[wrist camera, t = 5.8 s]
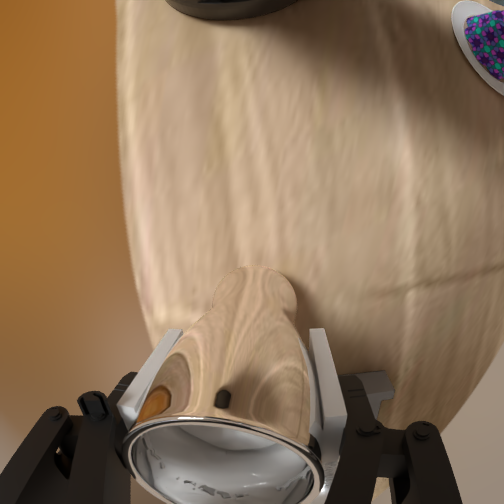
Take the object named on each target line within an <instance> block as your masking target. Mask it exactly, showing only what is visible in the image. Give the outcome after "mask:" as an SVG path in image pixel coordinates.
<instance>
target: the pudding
mask: <svg viewBox="0 0 504 504" xmlns="http://www.w3.org/2000/svg"><path fill="white" fill-rule="evenodd" d="M471 15H477V16H473V17H470V18H468V19H467V21H466V22H467V25H468V28H466V29H465V34H464V22H465V19H466V18H467V17H468V16H471ZM451 19H452V26H453V30H454V33H455V36H456V38H457V41H458V43H459V45H460V47H461V49H462V51H463V53H464V54H465V56H466V57H467V59H468V61H469V62H470V63H471V65H472V66H473V67H474V69H475V70H476V71H477V73H478V74H479V75H480V76H481V77H482V78H483V79H484V80H485V81H486V82H487V83H488V84H489V85H490V86H491V87H492V88H493V89H495V90H496V91H497V92H499V93H500V94H502V95H504V83H503V82H501V81H499V80H500V79H502V78H503V79H504V11H499V10H497V11H492V10H490V9H489V8H487V7H485V6H484V5H481V4H479V3H477V2H473V1H461V2H459V3H457V4H456V5H455V6H454V8H453V10H452V17H451ZM465 35H466V38H467V40H468V41H469V42H470V44H471V45H472V48H473V53H474V55H475V56H474V55H473V53H472V51H471V49H470V47H469V46H468V43H467V41H466V38H465ZM475 57H476V58H477V59H476V58H475ZM478 61H479V62H480V63H481V64H483V65H485V66H486V67H487V69H488V70H489V72H490V74H491V75H492V76H491V75H490V74H489V73H488V72H487V71H486V70H485V69H484V68H483V67H482V66H481V64H480V63H479V62H478ZM493 76H494V77H495V78H497V79H499V80H497V79H495V78H494V77H493Z"/></svg>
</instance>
